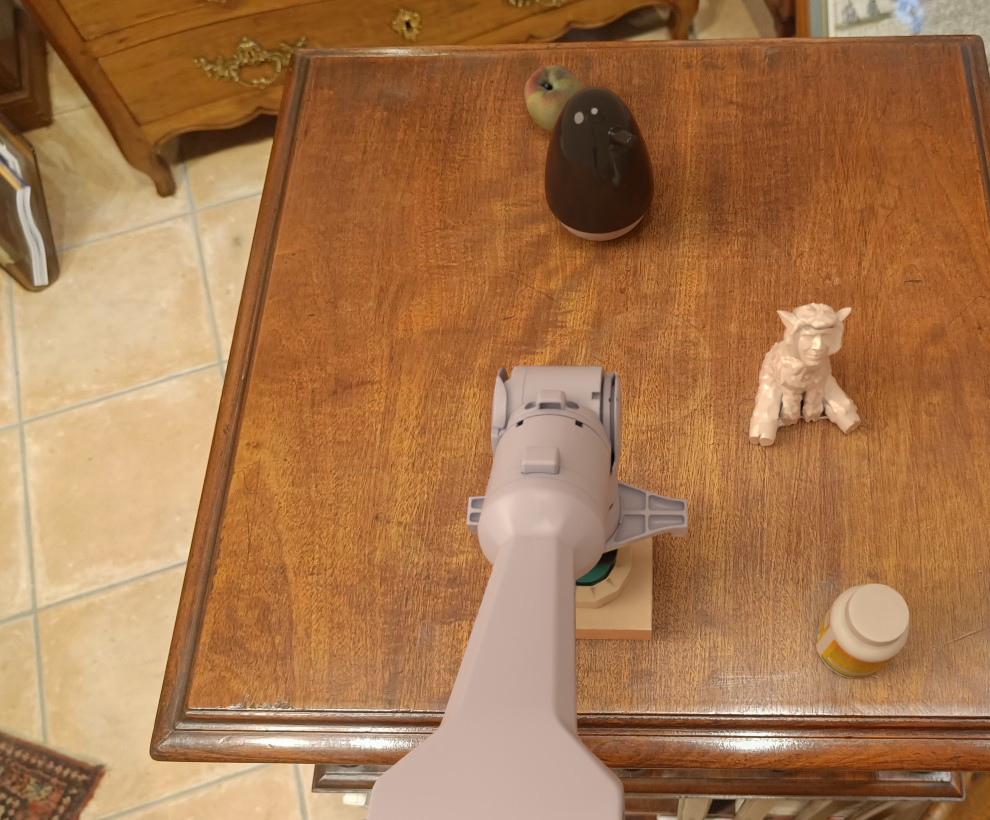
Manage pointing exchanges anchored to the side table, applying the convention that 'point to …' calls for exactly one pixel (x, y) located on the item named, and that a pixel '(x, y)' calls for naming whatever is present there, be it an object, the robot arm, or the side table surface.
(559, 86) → the apple
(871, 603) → the supplement bottle
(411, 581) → the side table surface
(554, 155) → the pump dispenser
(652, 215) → the side table surface
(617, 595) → the push button box
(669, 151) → the side table surface
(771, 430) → the white creature statuette
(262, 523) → the side table surface
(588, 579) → the teal button
